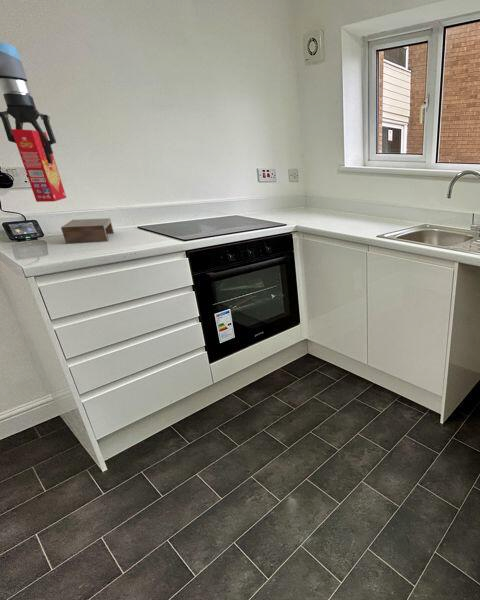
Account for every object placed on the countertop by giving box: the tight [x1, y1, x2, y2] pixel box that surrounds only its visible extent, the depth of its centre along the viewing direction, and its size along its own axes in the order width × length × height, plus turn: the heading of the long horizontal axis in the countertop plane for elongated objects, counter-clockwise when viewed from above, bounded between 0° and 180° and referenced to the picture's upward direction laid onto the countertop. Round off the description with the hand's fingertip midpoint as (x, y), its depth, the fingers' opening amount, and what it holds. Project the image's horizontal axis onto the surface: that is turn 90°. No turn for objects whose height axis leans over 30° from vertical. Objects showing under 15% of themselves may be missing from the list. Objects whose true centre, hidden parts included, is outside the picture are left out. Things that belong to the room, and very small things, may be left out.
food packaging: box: [11, 128, 67, 203], centre depth 136 cm, size 15×5×25 cm, turn 28°
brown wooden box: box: [60, 217, 115, 245], centre depth 160 cm, size 14×22×7 cm, turn 31°
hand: (40, 162), depth 135 cm, fingers closed on food packaging, 5 cm apart
